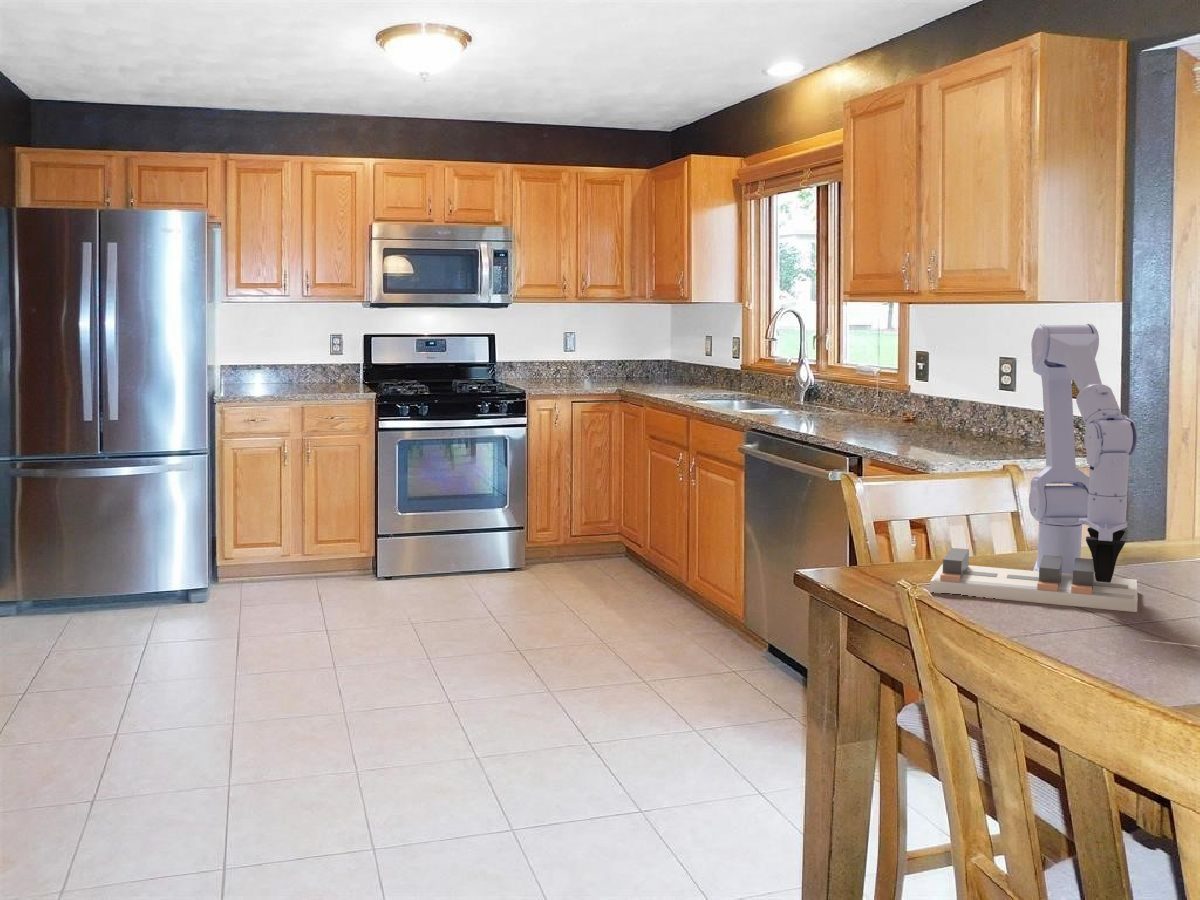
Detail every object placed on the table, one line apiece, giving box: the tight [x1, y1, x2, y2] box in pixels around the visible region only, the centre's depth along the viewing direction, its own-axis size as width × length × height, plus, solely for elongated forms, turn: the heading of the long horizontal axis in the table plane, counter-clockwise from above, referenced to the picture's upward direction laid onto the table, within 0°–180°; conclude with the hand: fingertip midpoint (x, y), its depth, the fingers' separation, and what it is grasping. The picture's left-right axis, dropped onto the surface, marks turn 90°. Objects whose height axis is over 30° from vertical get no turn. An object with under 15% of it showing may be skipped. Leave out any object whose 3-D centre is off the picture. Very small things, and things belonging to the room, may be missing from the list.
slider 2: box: [1072, 557, 1095, 590], centre depth 181 cm, size 10×3×3 cm, turn 155°
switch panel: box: [929, 563, 1139, 613], centre depth 184 cm, size 14×31×3 cm, turn 65°
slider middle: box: [1039, 555, 1062, 587], centre depth 184 cm, size 10×3×3 cm, turn 155°
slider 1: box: [942, 547, 970, 579], centre depth 190 cm, size 10×3×3 cm, turn 155°
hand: (1103, 576), depth 180 cm, fingers open, 7 cm apart
